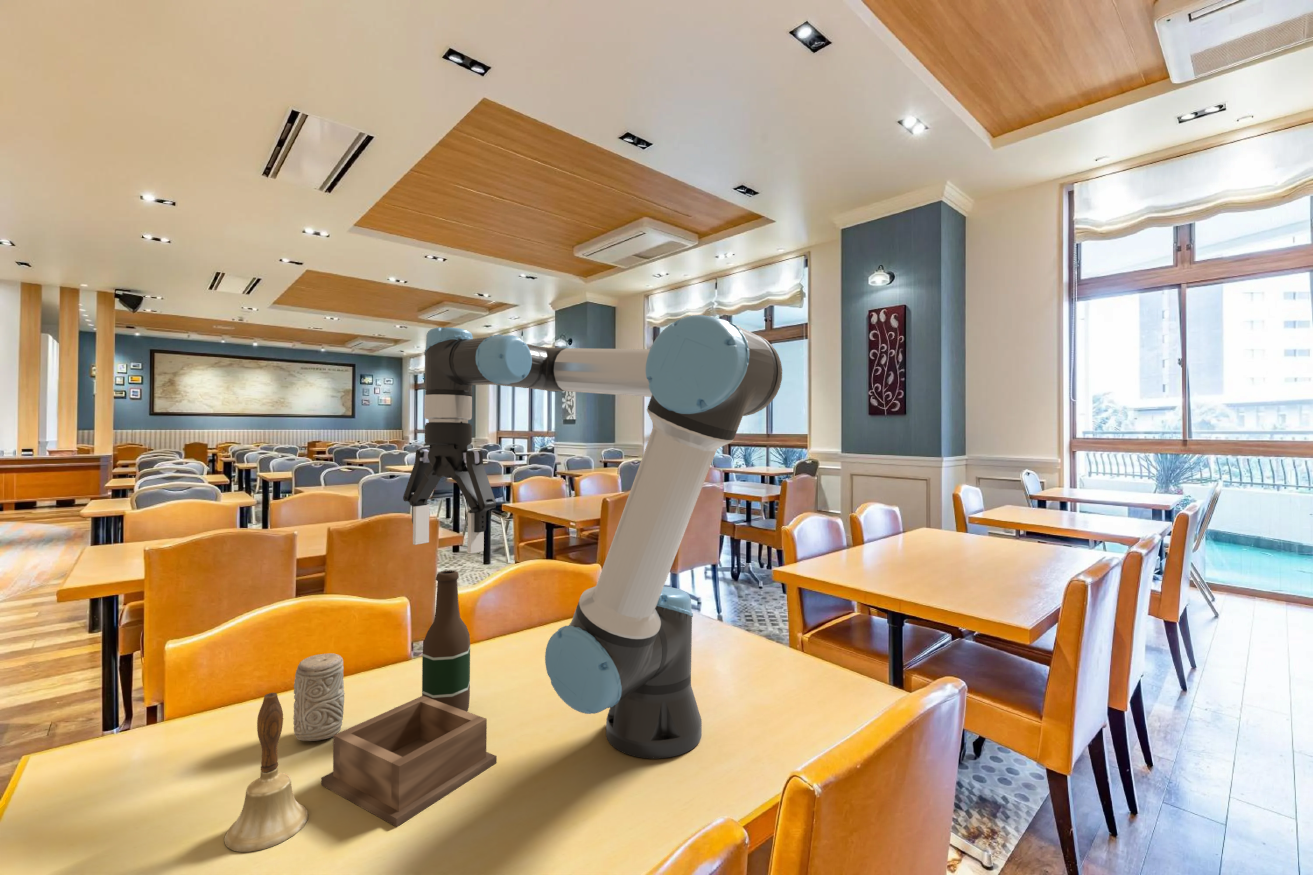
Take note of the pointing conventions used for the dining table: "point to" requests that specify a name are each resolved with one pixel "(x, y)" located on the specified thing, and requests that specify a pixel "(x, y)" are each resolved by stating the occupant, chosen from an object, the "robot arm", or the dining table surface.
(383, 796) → the box
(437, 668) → the beer bottle
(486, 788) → the dining table surface
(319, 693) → the carving
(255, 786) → the hand bell
